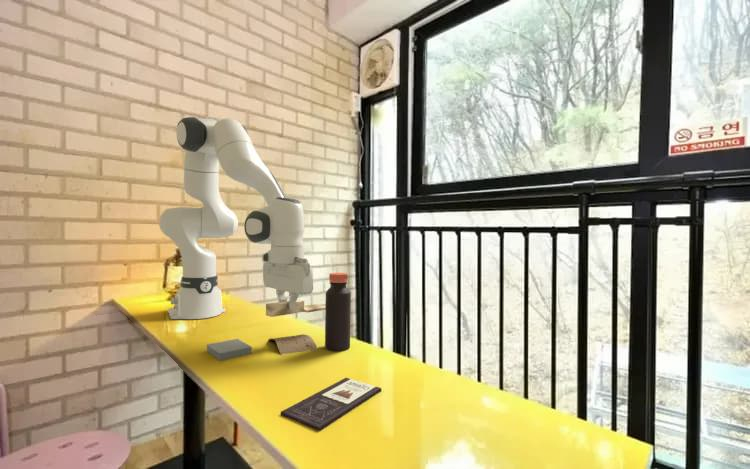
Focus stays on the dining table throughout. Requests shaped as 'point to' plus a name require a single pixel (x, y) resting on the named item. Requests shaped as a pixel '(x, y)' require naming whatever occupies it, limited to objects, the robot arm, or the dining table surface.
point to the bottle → (337, 313)
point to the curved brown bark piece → (294, 344)
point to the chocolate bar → (330, 403)
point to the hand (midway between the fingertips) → (286, 307)
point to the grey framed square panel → (229, 349)
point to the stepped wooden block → (282, 309)
